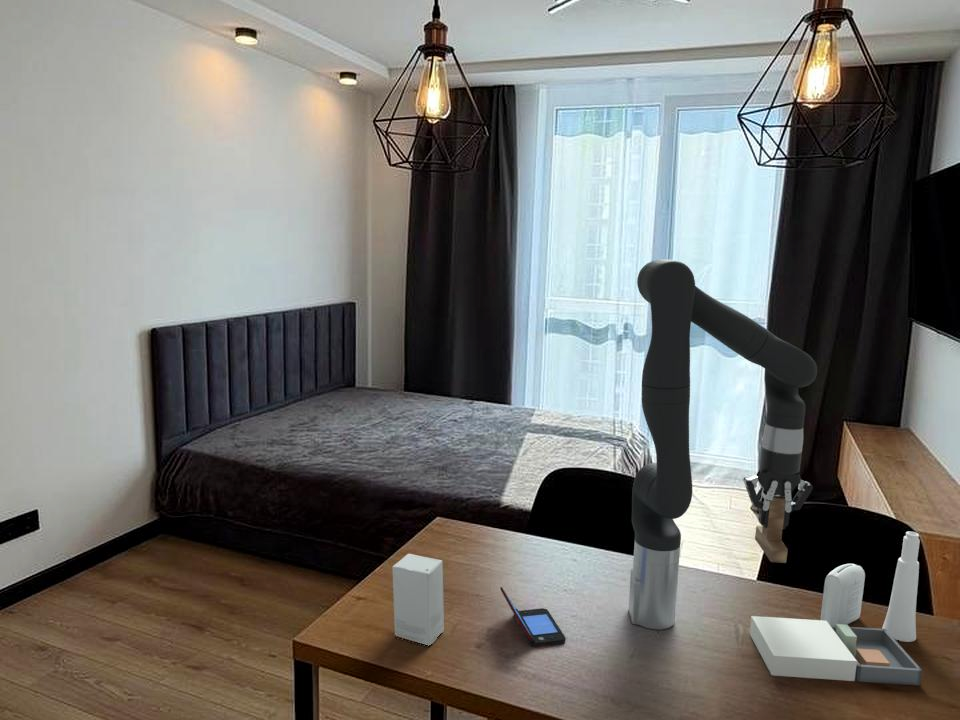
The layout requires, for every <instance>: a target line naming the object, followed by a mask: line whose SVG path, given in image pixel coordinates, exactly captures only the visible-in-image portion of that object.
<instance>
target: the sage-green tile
mask: <svg viewBox="0 0 960 720" xmlns="http://www.w3.org/2000/svg"><path fill="white" fill-rule="evenodd" d="M850 627H851V626H849V624H847V625H844V624H837V626H836V634H837V635H838V636H839V638H840V639H841V640H842V642H843V643H844V644H845V645H846V647H847V648H848V649H849V651H850V652H851V653H852V655H853V656H855V648H856V640H857V636H856V635H855V634H854V632H853V631H852V630H851V629H850Z"/></svg>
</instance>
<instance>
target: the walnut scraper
mask: <svg viewBox="0 0 960 720" xmlns="http://www.w3.org/2000/svg"><path fill="white" fill-rule="evenodd" d="M785 504H786V502H785V499H784V498H783V497H782V496H781V495H774V496H773V500H772V501H770V506H769V509H768V511H769V515H768V524H767V528H765V527H763V526H762V525H756V527H755V533H754V534H755V535H754V540H755V541H756V543H757V544H758V546H759V547H760V548H761V550H762V551H763V553H764V554H765V556H766V557H767V558H768V560H769V561H770V562H771V563H779V564H780V563H781V564H786V563H787V559H788V558H787V557H788V549H789V548H787V546H786V545H785V543H784V542H783V540H782V539H783V538H782V537H783V530H784V529H783V522H784V513H785Z"/></svg>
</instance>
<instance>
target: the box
mask: <svg viewBox="0 0 960 720" xmlns="http://www.w3.org/2000/svg"><path fill="white" fill-rule="evenodd" d="M849 627H850V629H851V630H852V631H853V632H854V634H855V635H856V636H857V640H856V648H855V653H856V649H871V650H879V651H880V652H881V653H882V654H883V655H884V657H885V658H886V659H887V660H888V661H889V663H890V667H888V666H874V665H860V664H859V663H858V661H857V660H856V661H857V665H856V673H855V681H856V682H861V683H875V684H888V685H889V684H890V685H891V684H892V685H906V686H921V684H922V678H923V677H922V676H923V670H922V669H921V667H920V666H919V665H918V664H917V663H916V662H915V660H914V659H913V658H912V657H911V656H910V655H909V654H908V653H907V651H906V650H905V649H904V648H903V647H902V646H901V644H899V643H898V641H897V640H895V639H894V638H893V637H892V636H891V635H890V634H889V633H888V632H887V630H886V629H882V628H876V627H875V628H874V627H873V628H872V627H858V626H857V627H856V626H849ZM831 628H832V629H833V630H834V632H835V633H836V626H831ZM838 637H839V636H838ZM841 641H842V640H841ZM844 645H845V644H844ZM845 646H846V645H845ZM847 649H848V648H847ZM848 650H849V649H848ZM850 653H851V652H850ZM851 654H852V653H851ZM853 657H854V658H855V656H853Z"/></svg>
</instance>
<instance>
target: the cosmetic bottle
mask: <svg viewBox="0 0 960 720" xmlns="http://www.w3.org/2000/svg"><path fill="white" fill-rule="evenodd" d="M919 537H920V535H919V533H917V532H915V531H906V532H905V535H904V536H903V539H902V541H903V542H902V547H901V548H902V549H901V553H900V554H901V555H900V557H899V558H898V559H897V563H896V568H895V573H894V578H893V584H892V589H891V595H890V600H889V604H888V609H887V612H886V616H885V620H884V621H883V625H882V628H881V629H886V630H887V632H888V633H889V634H890V635H891V636H892V637H893V638H894V639H895V640H896V641H898V640H899V642H904V643H911V642H915V641H917V628H916V627H917V626H916V620H917V619H916V616H917V615H916V614H917V613H916V612H917V598H918V597H917V596H918V586H919V573H920V571H919V570H920V562H919V561H918V557H919V552H920V551H919V549H920V543H921V541H920V539H919Z"/></svg>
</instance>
